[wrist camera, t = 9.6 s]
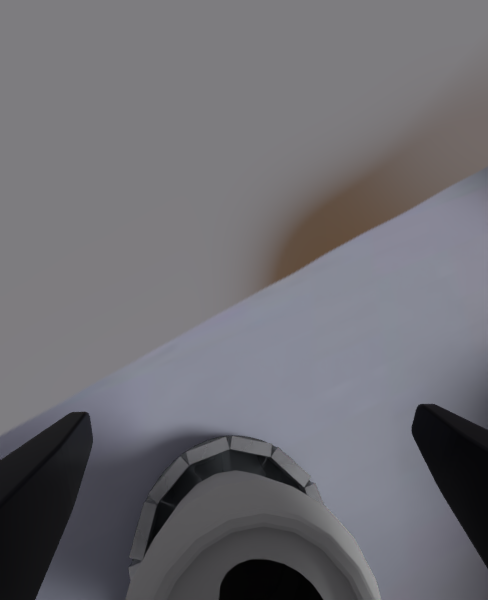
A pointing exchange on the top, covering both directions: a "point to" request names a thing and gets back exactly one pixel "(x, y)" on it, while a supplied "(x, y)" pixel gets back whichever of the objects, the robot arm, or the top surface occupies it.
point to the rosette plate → (201, 466)
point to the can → (252, 547)
